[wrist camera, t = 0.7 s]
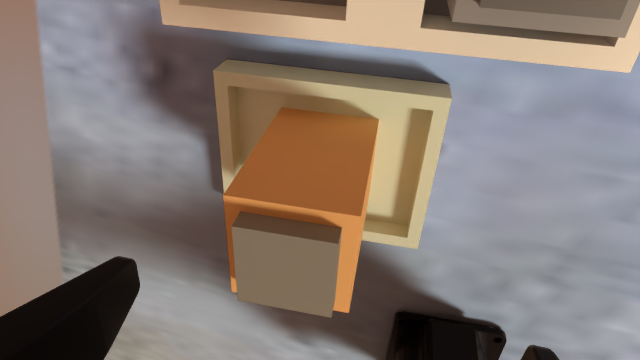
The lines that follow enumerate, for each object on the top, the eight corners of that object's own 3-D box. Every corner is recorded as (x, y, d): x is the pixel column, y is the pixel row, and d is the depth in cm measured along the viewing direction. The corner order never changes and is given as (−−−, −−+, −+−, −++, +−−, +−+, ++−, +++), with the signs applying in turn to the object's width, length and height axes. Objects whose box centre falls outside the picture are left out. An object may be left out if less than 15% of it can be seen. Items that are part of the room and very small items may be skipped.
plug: (368, 200, 22) (345, 331, 15) (281, 187, 23) (224, 307, 16) (379, 119, 20) (357, 233, 13) (281, 106, 20) (213, 209, 14)
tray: (417, 228, 23) (417, 249, 22) (236, 200, 24) (226, 217, 23) (449, 84, 19) (451, 98, 17) (226, 59, 20) (213, 70, 19)
